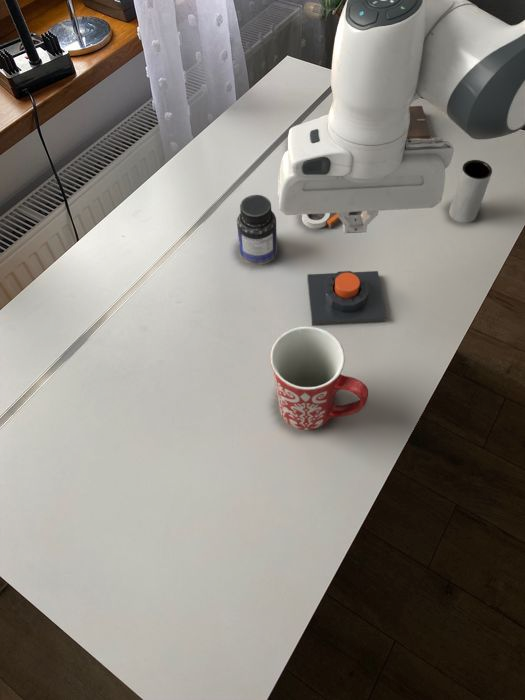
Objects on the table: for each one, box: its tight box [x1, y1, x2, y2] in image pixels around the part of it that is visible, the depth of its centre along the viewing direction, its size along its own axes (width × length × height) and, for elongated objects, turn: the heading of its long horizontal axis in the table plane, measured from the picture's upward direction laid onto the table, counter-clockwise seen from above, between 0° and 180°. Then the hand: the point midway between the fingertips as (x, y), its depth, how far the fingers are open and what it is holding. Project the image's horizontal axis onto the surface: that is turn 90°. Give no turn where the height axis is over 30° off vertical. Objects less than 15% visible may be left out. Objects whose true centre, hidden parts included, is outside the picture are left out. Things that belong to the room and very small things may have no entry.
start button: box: [335, 273, 360, 299], centre depth 89 cm, size 4×4×2 cm
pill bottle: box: [236, 194, 278, 266], centre depth 95 cm, size 6×6×11 cm
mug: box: [269, 326, 369, 431], centre depth 77 cm, size 13×9×14 cm
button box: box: [306, 270, 387, 327], centre depth 91 cm, size 11×9×4 cm
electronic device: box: [301, 212, 355, 230], centre depth 104 cm, size 7×3×15 cm
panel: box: [406, 105, 432, 139], centre depth 114 cm, size 11×10×3 cm
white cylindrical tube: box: [448, 159, 493, 224], centre depth 98 cm, size 4×4×10 cm
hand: (354, 229), depth 80 cm, fingers closed
